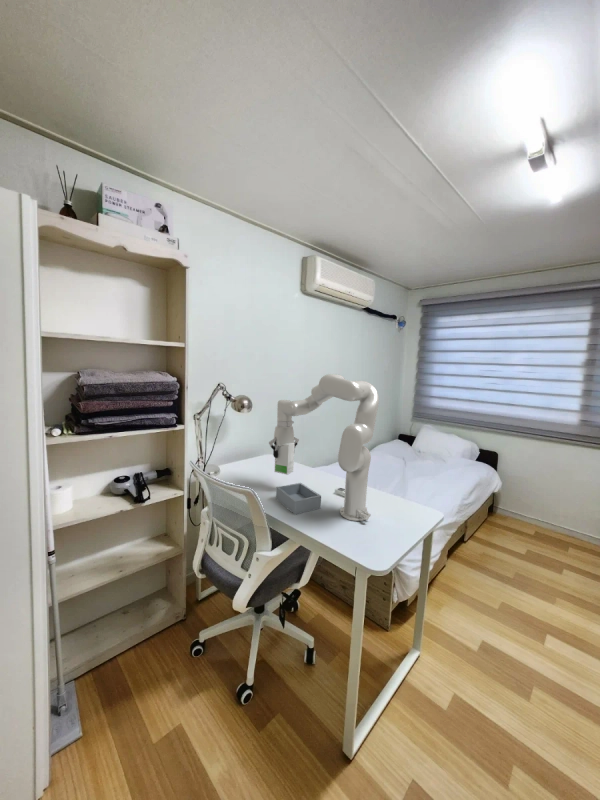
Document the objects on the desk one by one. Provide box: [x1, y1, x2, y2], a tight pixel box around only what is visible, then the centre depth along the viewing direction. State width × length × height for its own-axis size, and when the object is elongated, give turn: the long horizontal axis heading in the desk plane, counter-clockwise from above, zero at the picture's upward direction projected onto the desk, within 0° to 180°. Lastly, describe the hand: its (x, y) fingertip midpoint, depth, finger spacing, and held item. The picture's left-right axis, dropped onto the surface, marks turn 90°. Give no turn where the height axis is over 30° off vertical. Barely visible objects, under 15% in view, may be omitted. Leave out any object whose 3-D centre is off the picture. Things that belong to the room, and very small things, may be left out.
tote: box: [275, 482, 322, 515], centre depth 146 cm, size 18×14×6 cm
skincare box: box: [274, 443, 295, 475], centre depth 160 cm, size 8×7×16 cm
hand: (283, 456), depth 160 cm, fingers closed on skincare box, 9 cm apart
